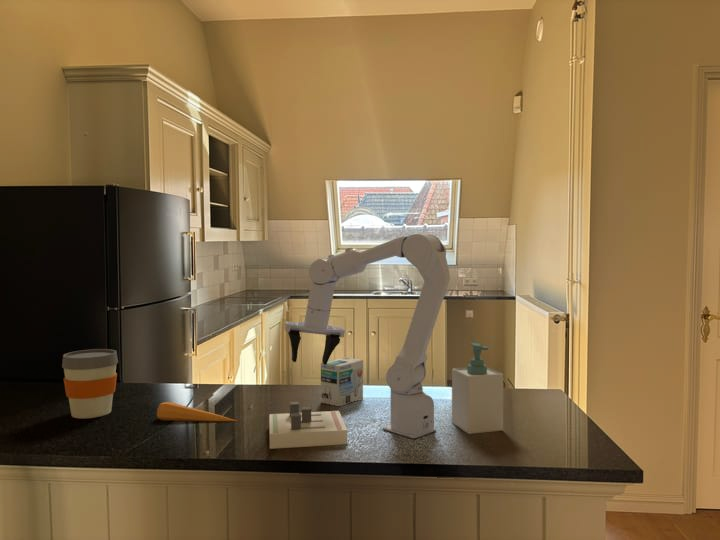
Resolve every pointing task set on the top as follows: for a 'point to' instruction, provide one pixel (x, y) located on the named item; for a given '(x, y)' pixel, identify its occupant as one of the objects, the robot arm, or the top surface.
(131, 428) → the top surface
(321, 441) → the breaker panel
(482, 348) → the soap bottle
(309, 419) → the block
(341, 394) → the light bulb box
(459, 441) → the top surface
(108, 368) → the reusable coffee cup
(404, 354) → the robot arm
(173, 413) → the carrot
